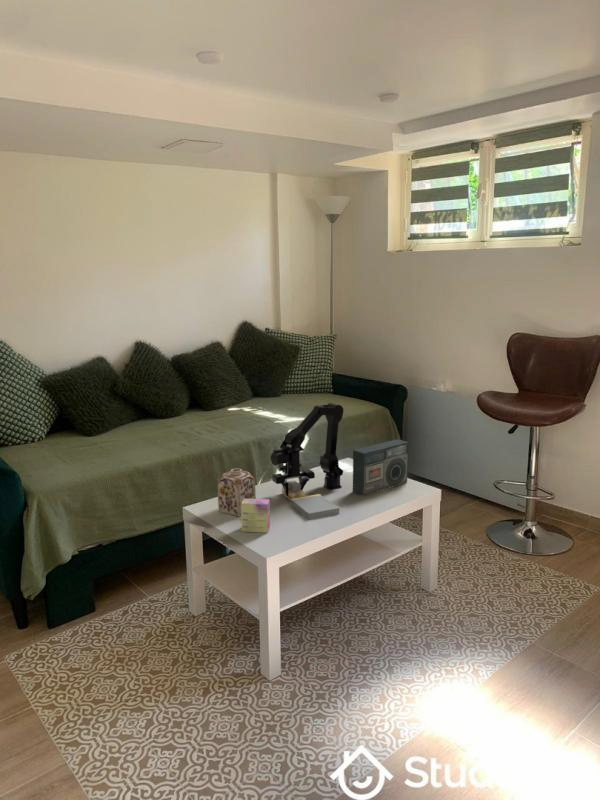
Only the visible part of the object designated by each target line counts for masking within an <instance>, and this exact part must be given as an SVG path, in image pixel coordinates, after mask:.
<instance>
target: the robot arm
mask: <svg viewBox="0 0 600 800" xmlns="http://www.w3.org/2000/svg"><path fill="white" fill-rule="evenodd" d="M343 415H344V407H343V406H342V405H341V404H338V403H333V402H329V403H327V404H320V405H318V404H317V405H314V407H313V409H312V410H311V411H310V413H308V415H307V416H306V417H304V419H303V420H302V421H301V422H300V423H299V424H298V426H297V427H295V428H293V429H291V430H290V431H289V432H287V433H286V434H285V435H284V439H283V440H282V442H281V444H280V446H279V448H278V449H277V448H276V449H275V448H274V449H273V450H272V451H273V452H271V455H270V462H271V464H272V465H273V466H277V469H278V472H282V473H284V475H283V474H282V473H275V474H272V476H271V481H272V482H273V483H275V484H276V485H279V484H281V487H282V486H283V488H284V491H285V493H286V496H288V486H289V483H288V482H289V481H288V480H291V479H298V481H299V482H298V483H299V484H300V488H301V490H302V491H304V488H305V486H306V484H307V483H308V482H309V481H310V480H311V479H315V477H316V475H315V472H314V471H313V470H312V469H309V468H308V469H302V470H301V467H302V464H301V461H300V460H301V456H300V455H301V452H302V451H304V450H305V448H303V447H302V444H303V443H304V441H305V439H306V435H307V434H308V433H309V432H310V430H311V429H312V428H313V427H314V425H315V424H317V422H318V421H319V420H320V418H321V417H322V416H325V419H326V421H327V427H326V439H325V440H326V441H325V452H324V454H323V455H320V457H319V458H320V459H319V460H320V461H319V465H320V468H321V470H322V471H323V473H324V474H325V476H324V484H323V486H324V487H326V488H327V489H329V490H334V489H341V488H342V485H341V476H343V474H344V470H343V469H342V468H340V466H339V465H340V464H339V458H338V456H337V445H338V435H339V433H338V431H339V424H340V422H341V420H342V419H343ZM286 496H285V497H286Z"/></svg>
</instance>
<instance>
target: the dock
mask: <svg viewBox="0 0 600 800" xmlns="http://www.w3.org/2000/svg"><path fill="white" fill-rule="evenodd" d="M290 505H291V506H292V507H293V508H294V509H296V510H297V511H298V512H299V513H301V515H303V516H304V517H305V518H306V519H308V520H312V519H319V518H323V517H328V516H334V515H338V514H340V507H339V506H337V505H336V504H334V503H333V502H331V501H330V500H328V498H326V497H325V496H323V495H322V494H321V493H317V494H312V495H305V497H299V498H298V497H297V498H294V499H291V500H290Z"/></svg>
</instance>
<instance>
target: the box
mask: <svg viewBox="0 0 600 800" xmlns="http://www.w3.org/2000/svg"><path fill="white" fill-rule="evenodd" d="M270 502H271V500H270V499H268V498H267V499H265V498H256V499H245V498H244V499H243V501H242V503H241V516H240V518H241V532H242V533H244V532H245V533H248V532H249V533H264V534H268V533H269V531H270V528H271V517H270V516H271V508H270V507H271V504H270Z"/></svg>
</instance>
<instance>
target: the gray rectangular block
mask: <svg viewBox="0 0 600 800" xmlns="http://www.w3.org/2000/svg"><path fill="white" fill-rule="evenodd" d="M287 482H288V483H289V486H288V490H290V491H291V492H298V491H301V488H300V484H299V482H297V481H296V480H290V481H289V480H288V481H287Z"/></svg>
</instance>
